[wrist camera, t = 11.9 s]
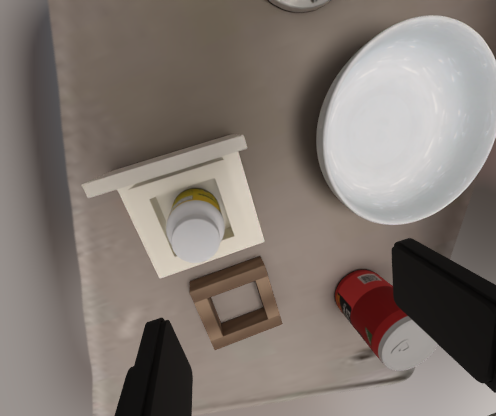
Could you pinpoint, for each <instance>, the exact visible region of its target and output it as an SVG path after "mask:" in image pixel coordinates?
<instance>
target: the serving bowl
mask: <svg viewBox="0 0 496 416" xmlns="http://www.w3.org/2000/svg"><path fill="white" fill-rule="evenodd" d="M495 138H496V60H495V58H494V56H493V54H492V52H491V50H490V48H489V46H488V45H487V44H486V42H485V41H484V39H483V38H482V37H481V36H480V35H479V34H478V33H477V32H476V31H475V30H473V29H472V28H471V27H469V26H468V25H466V24H464V23H462V22H461V21H458V20H456V19H453V18H449V17H444V16H435V15H433V16H420V17H414V18H411V19H407V20H404V21H402V22H399V23H397V24H394V25H392V26H390V27H389V28H387V29H385V30H384V31H382V32H380V33H379V34H378V35H376V36H375V37H374V38H372V39H371V40H370V41H369V42H367V43H366V44H365V45H364V46H363V47H362V48H360V49H359V50H358V51H357V52H356V53H355V54H354V55H353V56H352V57H351V58H350V60H349V61H348V62H347V63H346V64H345V65H344V67H343V68H342V69H341V71H340V72H339V73H338V75H337V76H336V78H335V79H334V81H333V83H332V85H331V86H330V88H329V90H328V92H327V94H326V97H325V99H324V102H323V105H322V107H321V111H320V115H319V119H318V125H317V136H316V144H317V155H318V160H319V165H320V168H321V171H322V174H323V176H324V178H325V180H326V182H327V184H328V186H329V187H330V189H331V190H332V192H333V193H334V194H335V195H336V197H337V198H338V199H339V200H340V201H341V202H342V203H343V204H344V205H345V206H346V207H347V208H349V209H350V210H351V211H352V212H354V213H355V214H357V215H358V216H360V217H362V218H364V219H366V220H369V221H371V222H374V223H379V224H386V225H400V224H407V223H412V222H415V221H418V220H421V219H424V218H426V217H429V216H431V215H433V214H434V213H436V212H438V211H440V210H441V209H443V208H444V207H446V206H447V205H448V204H450V203H451V202H452V201H453V200H455V199H456V198H457V197H458V196H459V195H460V194H461V193H462V192H463V191H464V190H465V189H466V188H467V187H468V186H469V185H470V183H471V182H472V181H473V179H474V178H475V177H476V175H477V174H478V173H479V171H480V169H481V168H482V166H483V164H484V163H485V161H486V159H487V157H488V155H489V152H490V150H491V148H492V146H493V143H494V141H495Z"/></svg>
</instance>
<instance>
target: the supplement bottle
mask: <svg viewBox="0 0 496 416" xmlns="http://www.w3.org/2000/svg"><path fill="white" fill-rule="evenodd" d="M224 231H225V225H224V219H223V216H222V213H221V210H220V206H219V204H218V201H217V199H216V198H215V196H214V195H213V194H212V193H211V192H209V191H208V190H206V189H203V188H197V187H195V188H189V189H186V190H184V191H183V192H181V193H180V194H179V195H178V196H177V197H176V199H175V200H174V203H173V205H172V208H171V211H170V214H169V217H168V220H167V225H166V233H167V237H168V240H169V242H170V243H171V245H172V249H173V251H174V252H175V254H176V255H177V256H178V257H179V258H180V259H182V260H184V261H186V262H189V263H201V262H204V261H207V260H209V259H210V258H211V257H213V256H214V255H215V253H216V252H217V250H218V248H219V245H220V242H221V241H222V239H223V236H224Z"/></svg>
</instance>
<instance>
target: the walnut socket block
mask: <svg viewBox="0 0 496 416" xmlns="http://www.w3.org/2000/svg"><path fill="white" fill-rule="evenodd" d="M253 281H255V282H256V285H257V288H258V291H259V294H260V297H261V300H262V303H263V306H264V308H261V309H258V310H256V311H253V312H250V313H248V314H245V315H242V316H240V317H237V318H234V319H232V320H229V321H227V322H224V323H221V322H220V319H219V317H218V314H217V312H216V309H215V307H214V305H213V302H212V300H211V297H212V296H215V295H218V294H220V293H223V292H226V291H229V290H231V289H234V288H237V287H240V286H242V285H245V284H248V283H250V282H253ZM190 295H191V297H192V299H193V302H194V304H195V306H196V308H197V311H198V313H199V315H200V318H201V320H202V322H203V324H204V327H205V329H206V331H207V334H208V336H209V338H210V340H211V343H212V345H213V347H214V349H215V350H217V349H219V348H222V347H225V346H227V345H230V344H232V343H235V342H237V341H240V340H243V339H245V338H248V337H250V336H253V335H256V334H258V333H261V332H263V331H266V330H268V329H271V328H274V327H276V326H279V325H281V324H282V321H281V317H280V314H279V311H278V307H277V304H276V301H275V298H274V294H273V291H272V288H271V284H270V281H269V278H268V274H267V271H266V268H265V265H264V263H263V261H262V259H261V257H260V256H259V257H257V258H254V259H251V260H248V261H245V262H243V263H240V264H237V265H234V266H231V267H229V268H226V269H223V270H220V271H217V272H215V273H212V274H209V275H206V276H203V277H201V278H198V279H195V280H192V281H190Z"/></svg>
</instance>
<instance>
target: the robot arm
mask: <svg viewBox="0 0 496 416" xmlns="http://www.w3.org/2000/svg"><path fill="white" fill-rule="evenodd" d="M269 1H270V2H271V3H272V4H274V5H276V6H278V7H280V8H282V9H284V10H288V11H292V12H308V11H313V10H316V9H318V8H320V7H322V6H324V5H326V4H327V3H328V2H330V1H331V0H312V2H311V0H269ZM392 272H393V298H394V301H395V303H396V305H397V306H398V307H399V308H400V309H401V310H402V311H403V312H404V313H405V314H406V315H407V316H409V317H410V318H411V319H412V320H413V321H414V322H415V323H416V324H417V325H418V326H419V327H420V328H421V329H422V330H423V331H424V332H426V333H427V334H428V335H429V336H430V337H431V338H432V339H433V340H434V341H435V342H436V343H437V344H438V345H439V346H441V347H442V348H443V349H444V350H445V351H446V352H447V353H448V354H449V355H450V356H451V357H452V358H453V359H454V360H455V361H457V362H458V363H459V364H460V365H461V366H462V367H463V368H464V369H465V370H466V371H467V372H468V373H469V374H470V375H471V376H472V377H473V378H475V379H476V380H477V381H479V382H480V383H485V384H486V385H487V386H488V387H489V388H490V389H491V390H492V391H494V392H496V285H495V284H493V283H491V282H489V281H487V280H486V279H484V278H482V277H480V276H478V275H476V274H475V273H473V272H471V271H469V270H468V269H466V268H464V267H462V266H460V265H459V264H457V263H455V262H453V261H451V260H450V259H448V258H446V257H444V256H442V255H441V254H439V253H437V252H435V251H433V250H432V249H430V248H428V247H426V246H424V245H423V244H421V243H419V242H417V241H415V240H414V239H411V238H408V239H405V240H402V241H399V242H396V243H395V244H394V247H393V248H392ZM192 381H193V376H192V370H191V366H190V364H189V362H188V360H187V358H186V356H185V353H184V351H183V349H182V347H181V345H180V343H179V340H178V338H177V336H176V334H175V332H174V330H173V328H172V325H171V323H170V321H169V320H166V321H165V320H164V319H163V318H159V319H156V320H153V321H150V322H147V323H146V325H145V328H144V332H143V336H142V339H141V343H140V347H139V350H138V354H137V358H136V362H135V365H134V366H133V367H131V368H130V369H129V370H128V372H127V375H126V378H125V382H124V385H123V389H122V392H121V396H120V399H119V402H118V406H117V409H116V413H115V416H191V414H192ZM489 416H496V413H494V414H491V415H489Z"/></svg>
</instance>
